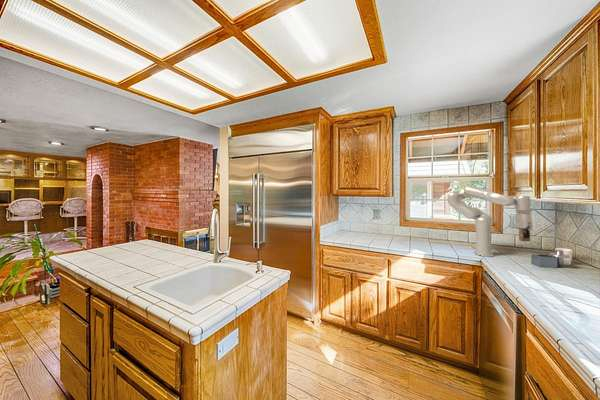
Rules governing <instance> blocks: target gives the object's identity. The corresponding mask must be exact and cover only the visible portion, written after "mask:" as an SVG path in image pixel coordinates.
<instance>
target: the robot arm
mask: <svg viewBox="0 0 600 400" xmlns="http://www.w3.org/2000/svg"><path fill="white" fill-rule="evenodd" d="M470 197H473V198H477V199H479V200H484V201H487V202H490V203H493V204H497V205H500V206H504V207H510V206H515V211H516V212H515V220H514V222H515V223H514V226H515V227H516V228H517V229H518V230H519V228H524V232H523V235H524V238H529V233H530V234H531V231H532V230H533V219H532V210H531V209H532V207H531V197H530V196H529V195H505V194H504V195H503V194H501V193H496V192H494V191H492V190H490V189H487V188H482V187H479V186H476V185H466V186H465V187H464V188H462V189H460V190H457V191H456V190H455V191H451V192H449V193H448V195H447V203H448V204H449V206H451V208H452V209H454V210H455V211H457V212H458V213H459V214H461V215H462V216H463V217H465V218H467V219H468V220H469V219H470V220H474V226H475V251H473V255H475V254H477V255H476V256H479V255H481V257H486V258H487V257H489V258H490V257H494V255H495V254H494V253H492V232H491V226H492V225H493V224H494V219H493V217H492V216H491V215H489V214H487V213H486V212H484V211H482V210H481V209H480V208H477V207H472V206H470V205H468V204H466V203H465V202H463V201H462V200H464V199H467V198H470ZM526 229H527V230H526Z"/></svg>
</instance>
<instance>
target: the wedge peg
mask: <svg viewBox="0 0 600 400" xmlns="http://www.w3.org/2000/svg"><path fill="white" fill-rule="evenodd" d="M526 230H527V229H526ZM523 232H524V228H519V229H518V241H519V242H531V232H530V233H529V238H524V235H523Z"/></svg>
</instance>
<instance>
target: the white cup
mask: <svg viewBox="0 0 600 400" xmlns="http://www.w3.org/2000/svg"><path fill="white" fill-rule="evenodd" d="M554 249H555V250H563V251H564V254H566V255H569V256H570V258H563V266H564V265H565V266H570V265H572V261H573V249H570V248H565V247H564V248H562V247H556V248H554ZM555 250H554V251H555Z"/></svg>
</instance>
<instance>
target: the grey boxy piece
mask: <svg viewBox="0 0 600 400" xmlns="http://www.w3.org/2000/svg"><path fill="white" fill-rule="evenodd" d="M530 257H531V259H530V260H531V265H533V266H535V267H538V268H546V269H548V268H549V269H558V268H564V264H563V258H570V256H569V255H566V254H564V251H563V250H554V252H550V253H549V254H541V253H538V254H537V253H531V256H530Z"/></svg>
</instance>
